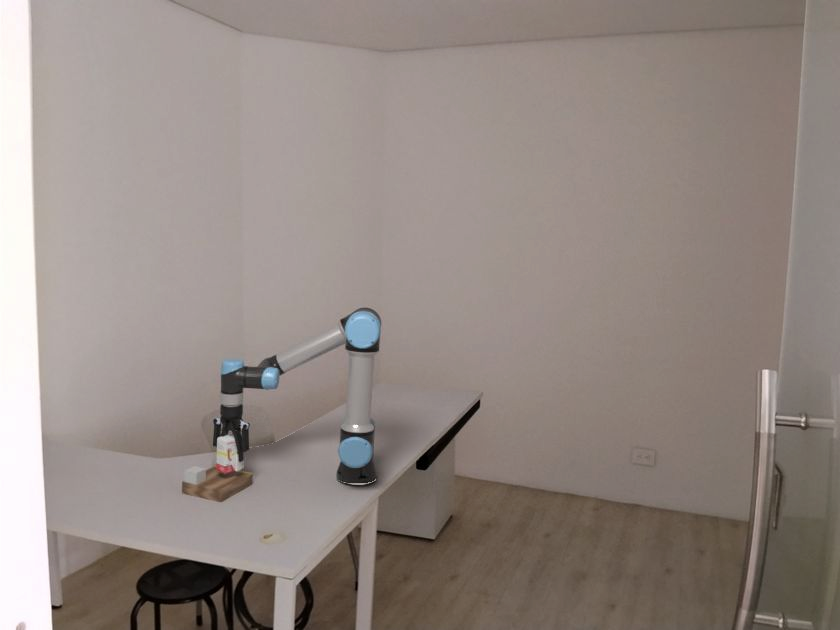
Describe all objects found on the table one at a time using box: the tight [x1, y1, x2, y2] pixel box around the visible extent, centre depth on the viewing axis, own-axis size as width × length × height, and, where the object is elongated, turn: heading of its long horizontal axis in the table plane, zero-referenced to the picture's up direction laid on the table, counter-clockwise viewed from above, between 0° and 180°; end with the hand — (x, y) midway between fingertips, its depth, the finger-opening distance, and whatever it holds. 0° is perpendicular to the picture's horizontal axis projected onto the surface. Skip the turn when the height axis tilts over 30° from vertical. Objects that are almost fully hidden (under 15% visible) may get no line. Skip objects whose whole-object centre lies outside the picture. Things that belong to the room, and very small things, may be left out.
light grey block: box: [183, 465, 207, 485], centre depth 247 cm, size 5×5×4 cm
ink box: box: [216, 433, 245, 474], centre depth 252 cm, size 9×5×12 cm, turn 142°
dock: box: [181, 464, 254, 503], centre depth 251 cm, size 16×18×4 cm
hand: (230, 468), depth 252 cm, fingers closed on ink box, 6 cm apart
